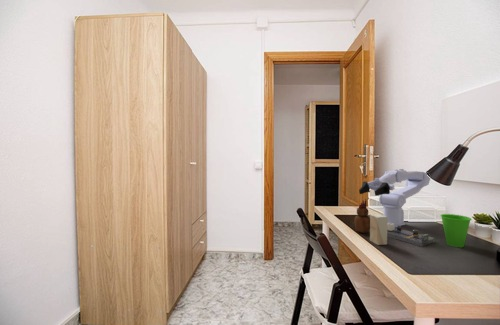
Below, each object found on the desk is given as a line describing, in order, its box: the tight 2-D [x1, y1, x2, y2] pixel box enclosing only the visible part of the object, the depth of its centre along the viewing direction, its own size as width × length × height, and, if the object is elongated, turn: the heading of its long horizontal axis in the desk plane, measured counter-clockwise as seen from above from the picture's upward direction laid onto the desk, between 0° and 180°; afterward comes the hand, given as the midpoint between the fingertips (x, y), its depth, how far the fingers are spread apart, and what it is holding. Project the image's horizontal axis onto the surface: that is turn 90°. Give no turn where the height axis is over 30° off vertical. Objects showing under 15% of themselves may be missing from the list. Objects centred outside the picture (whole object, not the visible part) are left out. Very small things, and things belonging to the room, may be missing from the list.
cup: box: [440, 213, 472, 248], centre depth 90 cm, size 9×9×11 cm
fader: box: [387, 223, 396, 231], centre depth 104 cm, size 3×2×3 cm
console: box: [387, 225, 436, 247], centre depth 99 cm, size 10×19×4 cm, turn 28°
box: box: [369, 213, 388, 246], centre depth 93 cm, size 5×4×11 cm
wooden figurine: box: [353, 198, 370, 234], centre depth 107 cm, size 7×6×15 cm
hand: (367, 192), depth 107 cm, fingers open, 7 cm apart
